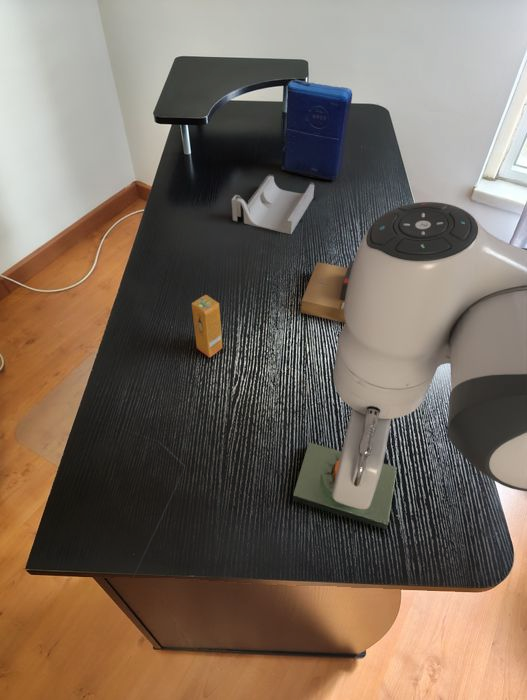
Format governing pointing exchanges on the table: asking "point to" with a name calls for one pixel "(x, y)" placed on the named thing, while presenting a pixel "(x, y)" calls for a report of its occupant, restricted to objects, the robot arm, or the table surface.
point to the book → (316, 129)
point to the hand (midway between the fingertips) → (360, 444)
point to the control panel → (325, 292)
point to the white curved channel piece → (273, 207)
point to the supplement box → (207, 325)
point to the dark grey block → (346, 281)
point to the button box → (320, 482)
